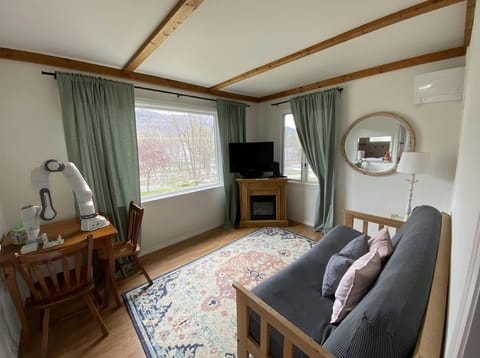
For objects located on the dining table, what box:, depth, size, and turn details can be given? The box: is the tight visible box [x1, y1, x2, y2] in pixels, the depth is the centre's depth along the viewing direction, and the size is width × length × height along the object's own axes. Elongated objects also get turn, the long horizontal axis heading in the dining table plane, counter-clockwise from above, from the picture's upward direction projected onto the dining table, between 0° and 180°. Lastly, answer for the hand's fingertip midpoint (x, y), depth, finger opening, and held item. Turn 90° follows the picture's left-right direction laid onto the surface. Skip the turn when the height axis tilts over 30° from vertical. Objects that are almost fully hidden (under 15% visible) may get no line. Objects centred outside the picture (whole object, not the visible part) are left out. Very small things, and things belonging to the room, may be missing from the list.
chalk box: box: [9, 223, 28, 245], centre depth 168 cm, size 9×9×15 cm
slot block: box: [20, 243, 39, 255], centre depth 156 cm, size 8×8×3 cm
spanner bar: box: [25, 236, 43, 245], centre depth 166 cm, size 11×4×4 cm, turn 127°
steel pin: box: [40, 232, 48, 245], centre depth 165 cm, size 3×3×8 cm
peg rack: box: [42, 234, 65, 250], centre depth 163 cm, size 12×8×5 cm, turn 127°
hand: (36, 241), depth 166 cm, fingers closed on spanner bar, 3 cm apart
